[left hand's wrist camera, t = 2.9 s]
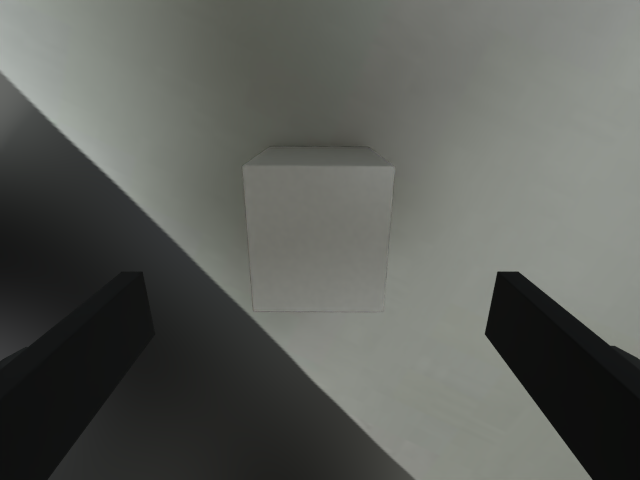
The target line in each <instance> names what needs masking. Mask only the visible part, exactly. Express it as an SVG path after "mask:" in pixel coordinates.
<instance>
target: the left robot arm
mask: <svg viewBox="0 0 640 480" xmlns="http://www.w3.org/2000/svg"><path fill="white" fill-rule="evenodd" d="M154 335H155V331H154V326H153V321H152V316H151V311H150V306H149V301H148V296H147V292H146V287H145V282H144V277H143V272H121V273H120V274H118V275H117V276H116V277H115V278H113V279H112V280H111V281H110V282H108V283H107V284H106V285H105V286H103V287H102V288H101V289H100V290H98V291H97V292H96V293H95V294H93V295H92V296H91V297H90V298H89V299H87V300H86V301H85V302H84V303H82V304H81V305H80V306H79V307H77V308H76V309H75V310H74V311H72V312H71V313H70V314H69V315H68V316H66V317H65V318H64V319H63V320H61V321H60V322H59V323H58V324H56V325H55V326H54V327H53V328H51V329H50V330H49V331H48V332H46V333H45V334H44V335H43V336H41V337H40V338H39V339H38V340H36V341H35V342H34V343H33V344H31V345H30V346H29V347H25V348H23V349H21V350H20V351H18V352H16V353H14V354H12V355H10V356H8V357H6V358H4V359H3V360H1V361H0V480H48V478H49V477H50V475H51V474H52V473H53V471H54V470H55V469H56V467H57V466H58V465H59V463H60V462H61V461H62V459H63V458H64V457H65V455H66V454H67V453H68V451H69V450H70V448H71V447H72V446H73V444H74V443H75V442H76V440H77V439H78V438H79V436H80V435H81V434H82V432H83V431H84V430H85V428H86V427H87V426H88V424H89V423H90V422H91V420H92V419H93V417H94V416H95V415H96V413H97V412H98V411H99V409H100V408H101V407H102V405H103V404H104V403H105V401H106V400H107V398H108V397H109V396H110V394H111V393H112V392H113V390H114V389H115V388H116V386H117V385H118V384H119V382H120V381H121V380H122V378H123V377H124V376H125V374H126V373H127V372H128V370H129V369H130V368H131V366H132V365H133V363H134V362H135V361H136V359H137V358H138V357H139V355H140V354H141V353H142V351H143V350H144V349H145V347H146V346H147V344H148V343H149V342H150V340H151V339H152V338H153V336H154ZM485 335H486V336H487V338H488V339H489V341H490V342H491V343H492V345H493V346H494V347H495V349H496V350H497V351H498V353H499V354H500V355H501V357H502V358H503V359H504V361H505V362H506V363H507V365H508V366H509V368H510V369H511V370H512V372H513V373H514V374H515V376H516V377H517V378H518V380H519V381H520V382H521V384H522V385H523V386H524V388H525V389H526V390H527V392H528V393H529V395H530V396H531V397H532V399H533V400H534V401H535V403H536V404H537V405H538V407H539V408H540V409H541V411H542V412H543V413H544V415H545V416H546V417H547V419H548V420H549V422H550V423H551V424H552V426H553V427H554V428H555V430H556V431H557V432H558V434H559V435H560V436H561V438H562V439H563V440H564V442H565V443H566V444H567V446H568V447H569V448H570V450H571V451H572V453H573V454H574V455H575V457H576V458H577V459H578V461H579V462H580V463H581V465H582V466H583V467H584V469H585V470H586V471H587V473H588V474H589V475H590V477H591V478H592V480H640V360H639V359H638V358H637V357H635V356H633V355H631V354H629V353H627V352H625V351H623V350H621V349H620V348H618V347H616V346H610V345H609V344H607V343H606V342H605V341H604V340H602V339H601V338H600V337H599V336H597V335H596V334H595V333H594V332H592V331H591V330H590V329H589V328H587V327H586V326H585V325H584V324H582V323H581V322H580V321H579V320H578V319H576V318H575V317H574V316H573V315H571V314H570V313H569V312H568V311H566V310H565V309H564V308H563V307H561V306H560V305H559V304H558V303H556V302H555V301H554V300H553V299H551V298H550V297H549V296H548V295H547V294H545V293H544V292H543V291H542V290H540V289H539V288H538V287H537V286H535V285H534V284H533V283H532V282H530V281H529V280H528V279H527V278H525V277H524V276H523V275H522V274H520V273H519V272H497V277H496V282H495V287H494V291H493V296H492V301H491V306H490V311H489V316H488V321H487V326H486V331H485Z"/></svg>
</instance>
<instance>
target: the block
mask: <svg viewBox="0 0 640 480" xmlns="http://www.w3.org/2000/svg"><path fill="white" fill-rule="evenodd" d="M242 173H243V187H244V200H245V213H246V226H247V239H248V252H249V265H250V279H251V292H252V305H253V311H254V312H383V311H384V300H385V287H386V275H387V262H388V250H389V238H390V225H391V213H392V201H393V188H394V176H395V166H394V165H392V164H391V163H390V162H388V161H387V160H386V159H384V158H383V157H382V156H380V155H379V154H378V153H376V152H375V151H374V150H372V149H371V148H370V147H268V148H267V149H265V150H264V151H263V152H261V153H260V154H258V155H257V156H255V157H254V158H253V159H251V160H250V161H248V162H247V163H245V164H244V165H243V166H242Z"/></svg>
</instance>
